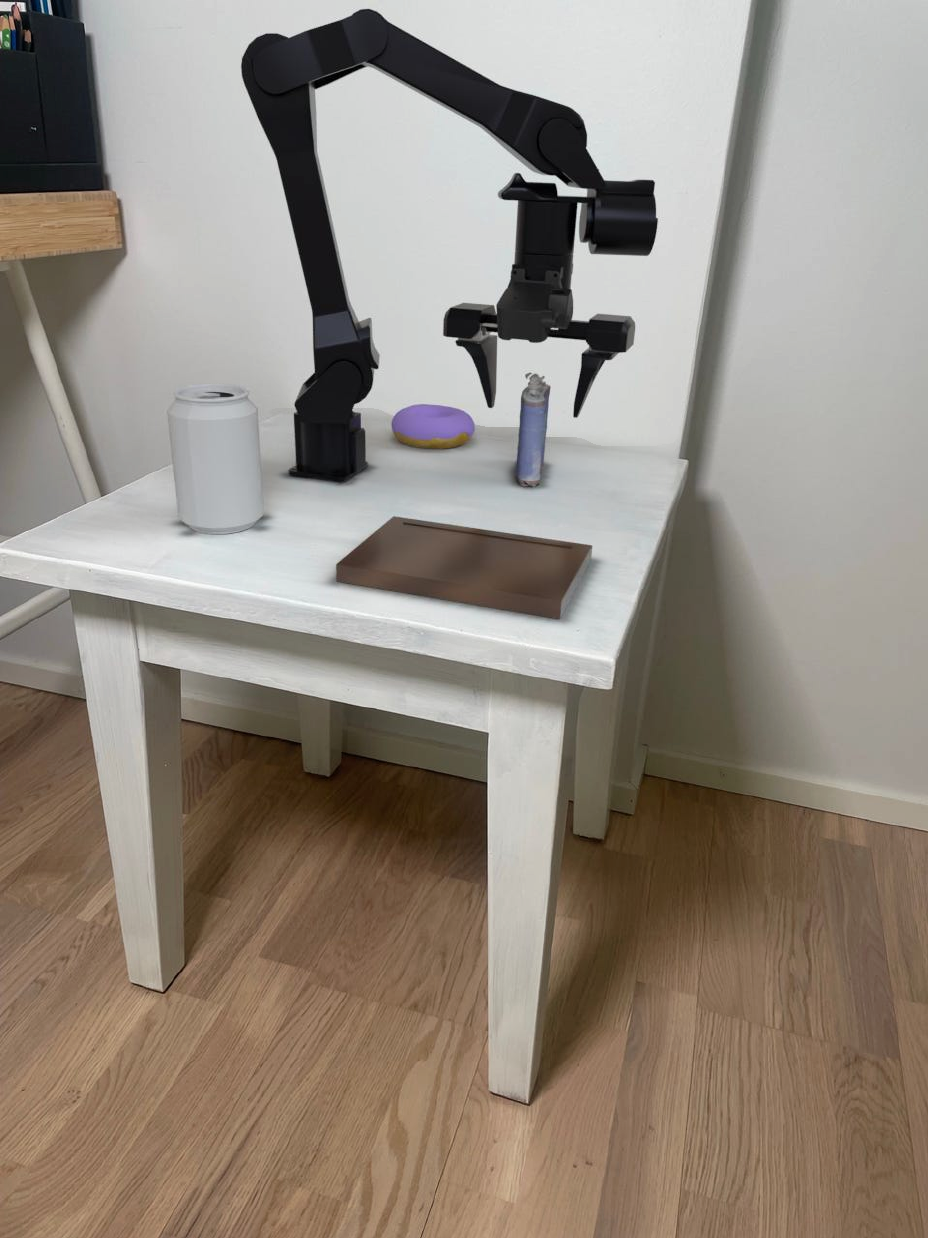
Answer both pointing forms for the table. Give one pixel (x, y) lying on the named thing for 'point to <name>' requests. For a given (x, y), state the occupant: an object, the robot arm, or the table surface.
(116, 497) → the table surface
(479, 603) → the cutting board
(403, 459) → the table surface
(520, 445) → the flask
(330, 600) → the table surface
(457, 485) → the table surface
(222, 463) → the can
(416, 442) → the donut
